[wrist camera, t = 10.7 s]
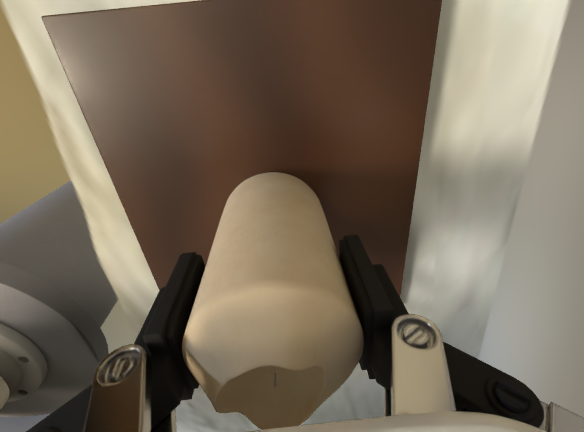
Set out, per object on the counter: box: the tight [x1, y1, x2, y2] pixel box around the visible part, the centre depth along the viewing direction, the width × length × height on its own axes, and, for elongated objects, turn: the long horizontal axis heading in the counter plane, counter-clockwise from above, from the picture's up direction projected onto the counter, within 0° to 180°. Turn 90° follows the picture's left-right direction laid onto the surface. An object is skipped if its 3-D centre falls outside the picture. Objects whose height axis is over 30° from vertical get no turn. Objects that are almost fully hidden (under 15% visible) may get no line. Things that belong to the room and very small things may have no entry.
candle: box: [182, 172, 364, 430], centre depth 12 cm, size 6×6×10 cm
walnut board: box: [42, 0, 442, 297], centre depth 17 cm, size 16×20×2 cm
